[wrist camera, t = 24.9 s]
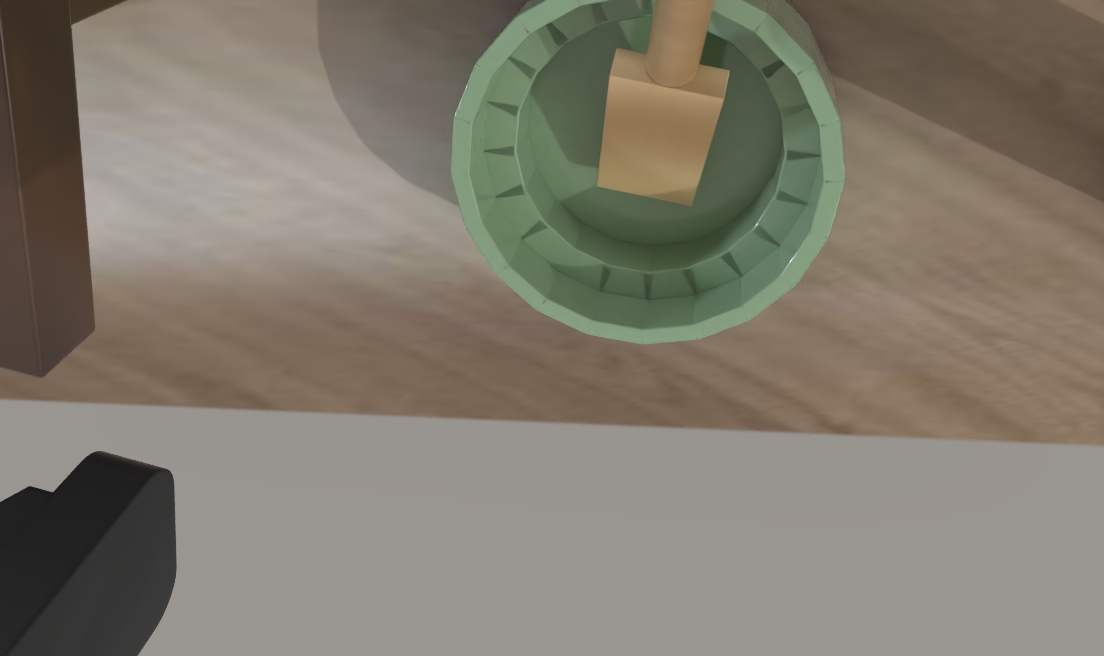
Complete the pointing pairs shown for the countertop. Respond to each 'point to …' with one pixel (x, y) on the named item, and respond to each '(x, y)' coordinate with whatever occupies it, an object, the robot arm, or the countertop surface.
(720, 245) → the bowl
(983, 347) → the countertop surface
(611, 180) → the spatula
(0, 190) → the wooden pedestal stand
